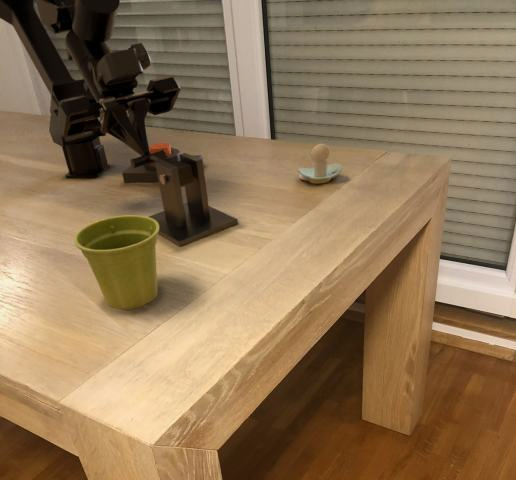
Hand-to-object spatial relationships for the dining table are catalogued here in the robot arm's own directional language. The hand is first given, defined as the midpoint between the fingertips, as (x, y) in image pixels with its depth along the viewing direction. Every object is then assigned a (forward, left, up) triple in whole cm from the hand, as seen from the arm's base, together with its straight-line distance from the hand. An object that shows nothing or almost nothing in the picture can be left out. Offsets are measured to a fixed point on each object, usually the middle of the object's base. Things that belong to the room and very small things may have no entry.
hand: (146, 155), depth 85 cm
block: (-4, +15, -9) cm, 18 cm away
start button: (-4, +15, -5) cm, 16 cm away
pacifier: (+24, +13, -9) cm, 29 cm away
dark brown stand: (+7, -6, -9) cm, 13 cm away
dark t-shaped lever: (+4, -3, -2) cm, 6 cm away
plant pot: (+6, -26, -9) cm, 28 cm away
